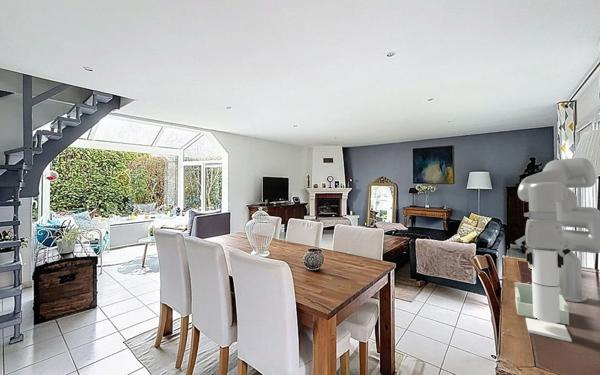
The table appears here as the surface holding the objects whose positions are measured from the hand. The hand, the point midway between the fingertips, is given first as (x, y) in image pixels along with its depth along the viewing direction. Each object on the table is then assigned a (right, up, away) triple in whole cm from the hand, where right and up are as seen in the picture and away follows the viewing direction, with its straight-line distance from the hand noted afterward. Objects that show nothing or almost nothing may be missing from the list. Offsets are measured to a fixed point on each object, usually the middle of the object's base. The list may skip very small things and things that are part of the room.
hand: (544, 264), depth 97 cm
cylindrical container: (0, -19, 0) cm, 19 cm away
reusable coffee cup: (+61, -24, +70) cm, 96 cm away
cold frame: (+10, -24, +13) cm, 29 cm away
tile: (0, -24, 0) cm, 24 cm away
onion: (+19, -24, +28) cm, 41 cm away
